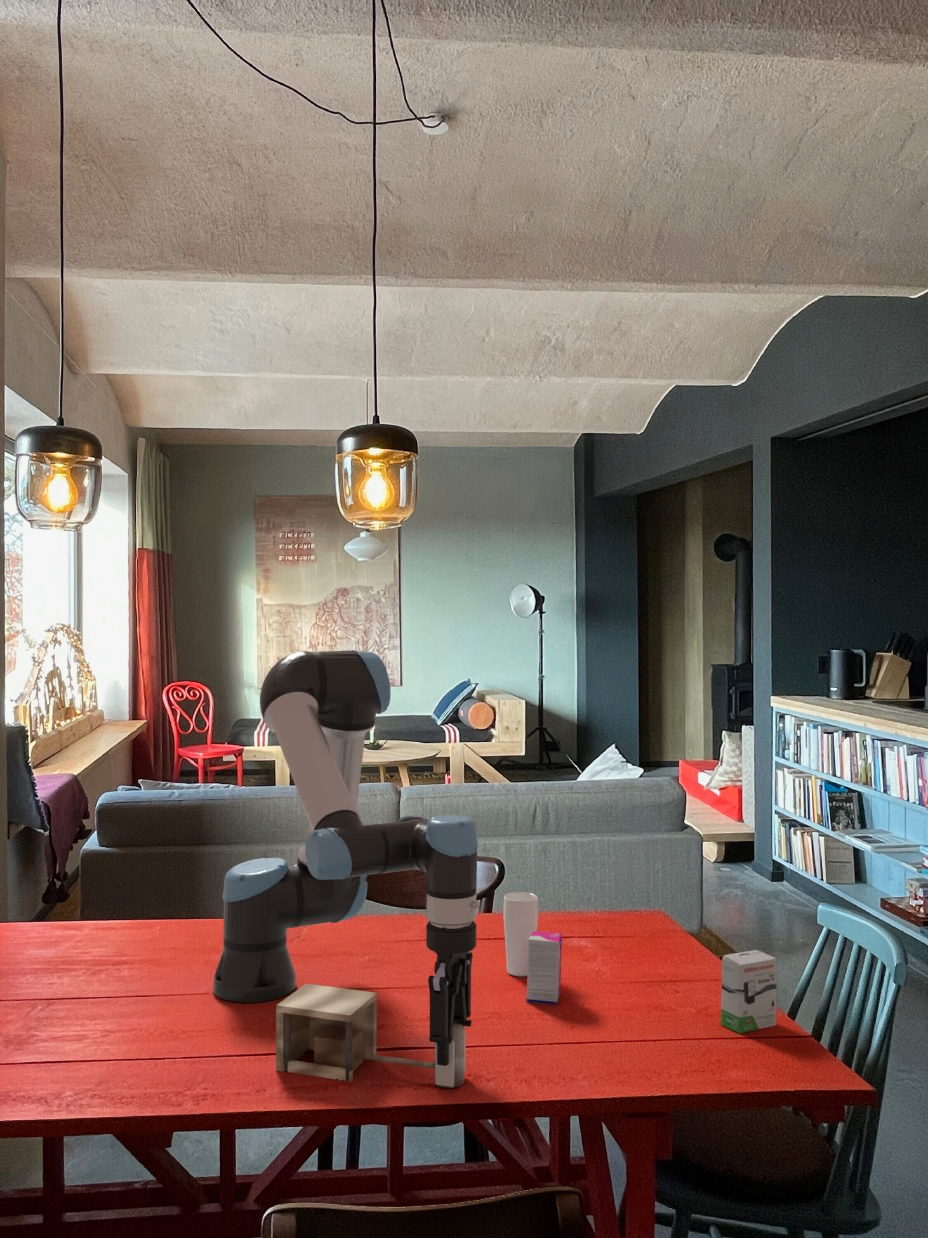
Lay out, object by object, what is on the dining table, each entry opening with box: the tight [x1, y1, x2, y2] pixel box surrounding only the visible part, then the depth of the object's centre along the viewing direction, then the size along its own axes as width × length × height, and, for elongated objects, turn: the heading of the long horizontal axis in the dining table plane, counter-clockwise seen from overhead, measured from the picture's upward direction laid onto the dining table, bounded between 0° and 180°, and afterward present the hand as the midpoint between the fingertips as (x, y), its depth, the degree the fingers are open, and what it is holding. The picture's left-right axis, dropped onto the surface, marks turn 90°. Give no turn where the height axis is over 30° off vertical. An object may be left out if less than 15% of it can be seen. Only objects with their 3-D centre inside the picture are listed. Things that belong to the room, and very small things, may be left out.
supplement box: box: [526, 931, 563, 1006], centre depth 190 cm, size 6×6×12 cm
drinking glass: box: [503, 891, 539, 977], centre depth 204 cm, size 7×7×15 cm
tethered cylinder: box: [313, 1022, 465, 1089], centre depth 158 cm, size 23×5×8 cm, turn 73°
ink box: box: [720, 949, 778, 1034], centre depth 178 cm, size 9×5×12 cm, turn 117°
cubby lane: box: [275, 983, 378, 1083], centre depth 162 cm, size 12×10×10 cm
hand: (450, 1077), depth 155 cm, fingers closed on tethered cylinder, 4 cm apart
